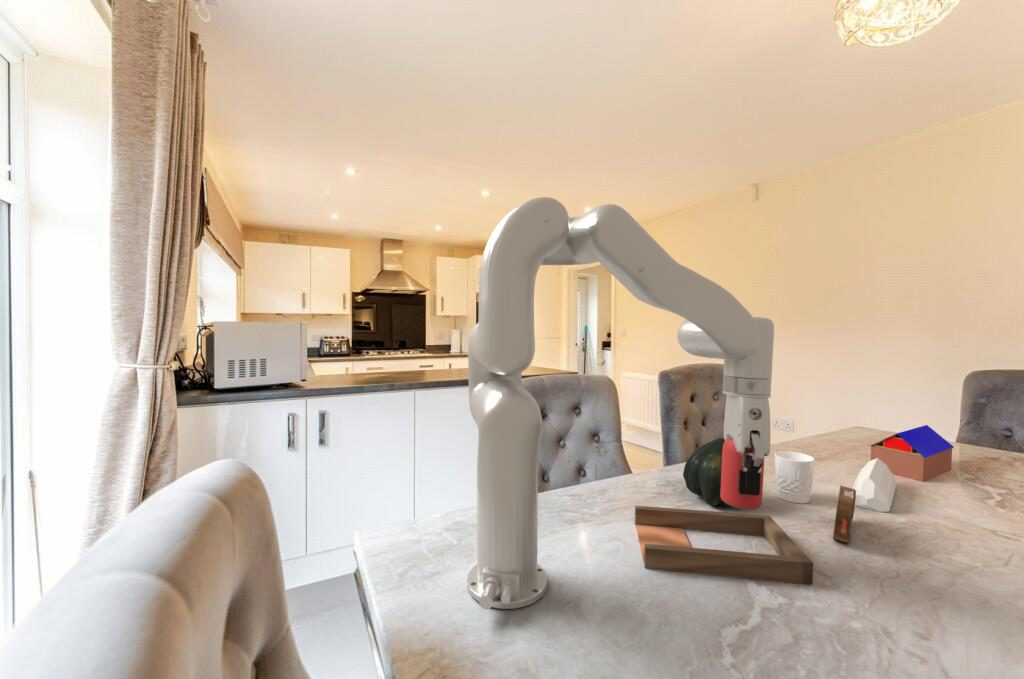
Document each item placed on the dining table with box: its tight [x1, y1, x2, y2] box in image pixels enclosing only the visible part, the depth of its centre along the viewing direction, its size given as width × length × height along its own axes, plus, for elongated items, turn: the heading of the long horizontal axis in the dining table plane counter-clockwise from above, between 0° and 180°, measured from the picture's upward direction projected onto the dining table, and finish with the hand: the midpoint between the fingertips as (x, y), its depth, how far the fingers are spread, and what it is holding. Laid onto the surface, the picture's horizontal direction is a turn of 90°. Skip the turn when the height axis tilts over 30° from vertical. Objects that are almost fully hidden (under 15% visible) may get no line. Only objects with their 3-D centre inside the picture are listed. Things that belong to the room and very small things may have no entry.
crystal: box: [851, 458, 897, 513], centre depth 104 cm, size 7×7×24 cm
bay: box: [634, 505, 814, 586], centre depth 79 cm, size 17×26×4 cm, turn 80°
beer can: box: [720, 435, 765, 511], centre depth 78 cm, size 7×7×12 cm
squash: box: [682, 437, 730, 507], centre depth 101 cm, size 14×15×15 cm
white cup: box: [774, 450, 816, 505], centre depth 102 cm, size 8×8×10 cm
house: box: [869, 424, 954, 483], centre depth 123 cm, size 12×20×12 cm, turn 119°
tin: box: [832, 484, 856, 544], centre depth 85 cm, size 15×3×8 cm, turn 141°
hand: (741, 485), depth 78 cm, fingers closed on beer can, 6 cm apart
